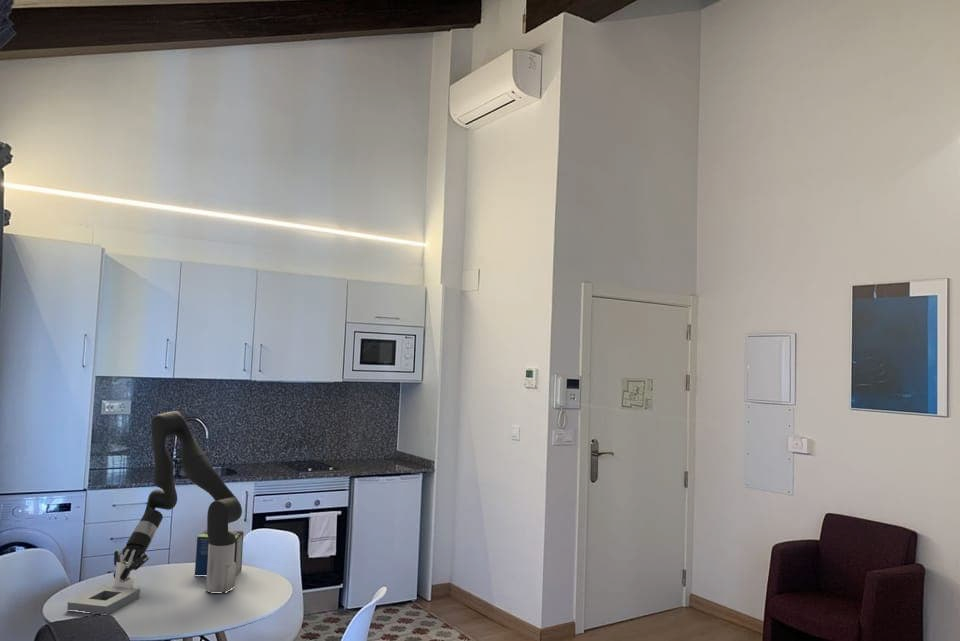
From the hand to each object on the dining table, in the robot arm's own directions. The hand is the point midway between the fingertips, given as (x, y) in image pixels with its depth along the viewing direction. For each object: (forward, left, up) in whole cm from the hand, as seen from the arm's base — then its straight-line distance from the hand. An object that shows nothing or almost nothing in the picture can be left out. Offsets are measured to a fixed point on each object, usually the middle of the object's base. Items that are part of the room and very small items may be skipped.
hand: (118, 578), depth 261 cm
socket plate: (-5, +14, -4) cm, 15 cm away
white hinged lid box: (-1, -2, -4) cm, 5 cm away
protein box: (-24, -28, -4) cm, 37 cm away
